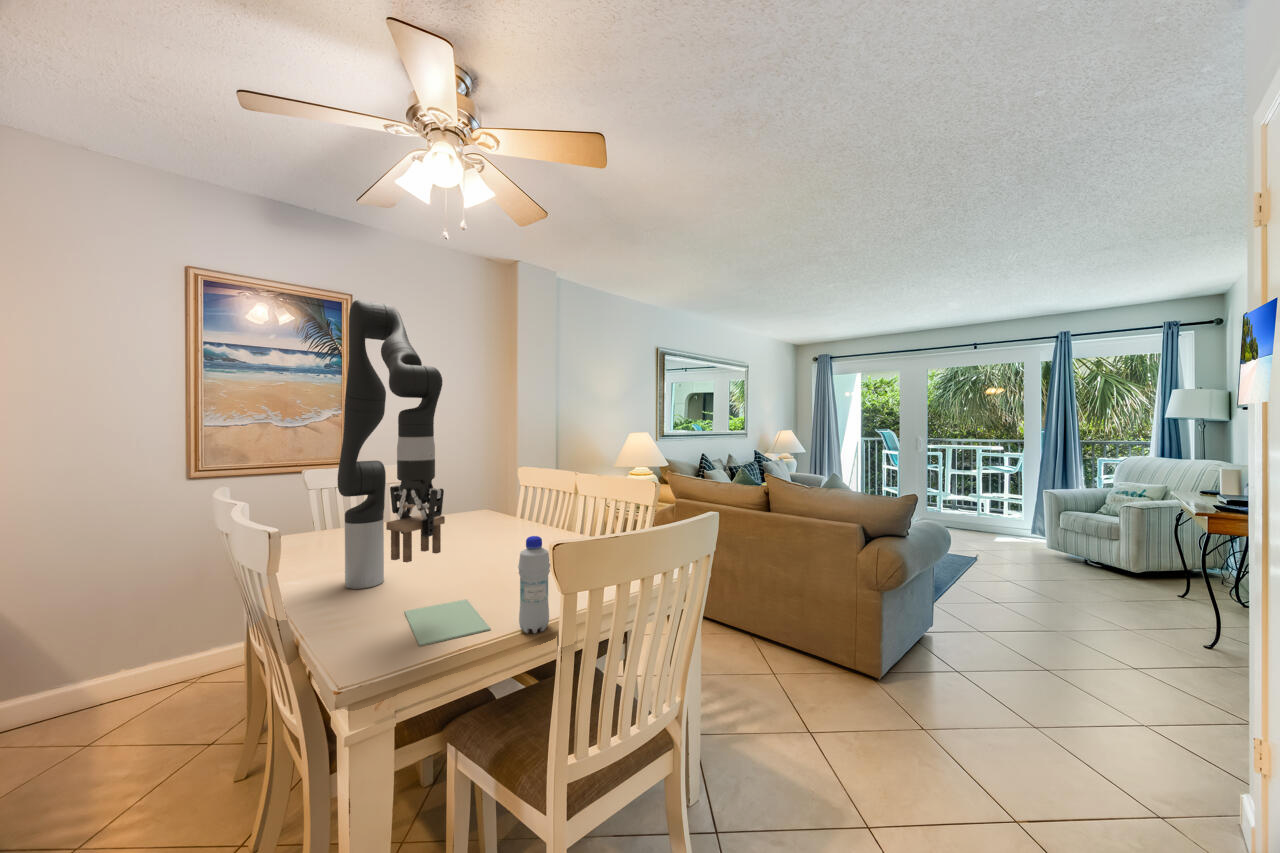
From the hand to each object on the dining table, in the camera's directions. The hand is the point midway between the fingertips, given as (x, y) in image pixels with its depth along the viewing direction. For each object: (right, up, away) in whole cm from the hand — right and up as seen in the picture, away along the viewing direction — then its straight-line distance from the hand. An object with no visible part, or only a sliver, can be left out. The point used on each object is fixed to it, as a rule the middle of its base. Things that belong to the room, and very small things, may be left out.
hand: (416, 534), depth 108 cm
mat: (+5, -20, +3) cm, 21 cm away
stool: (0, -5, 0) cm, 5 cm away
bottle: (+26, -20, -1) cm, 33 cm away
